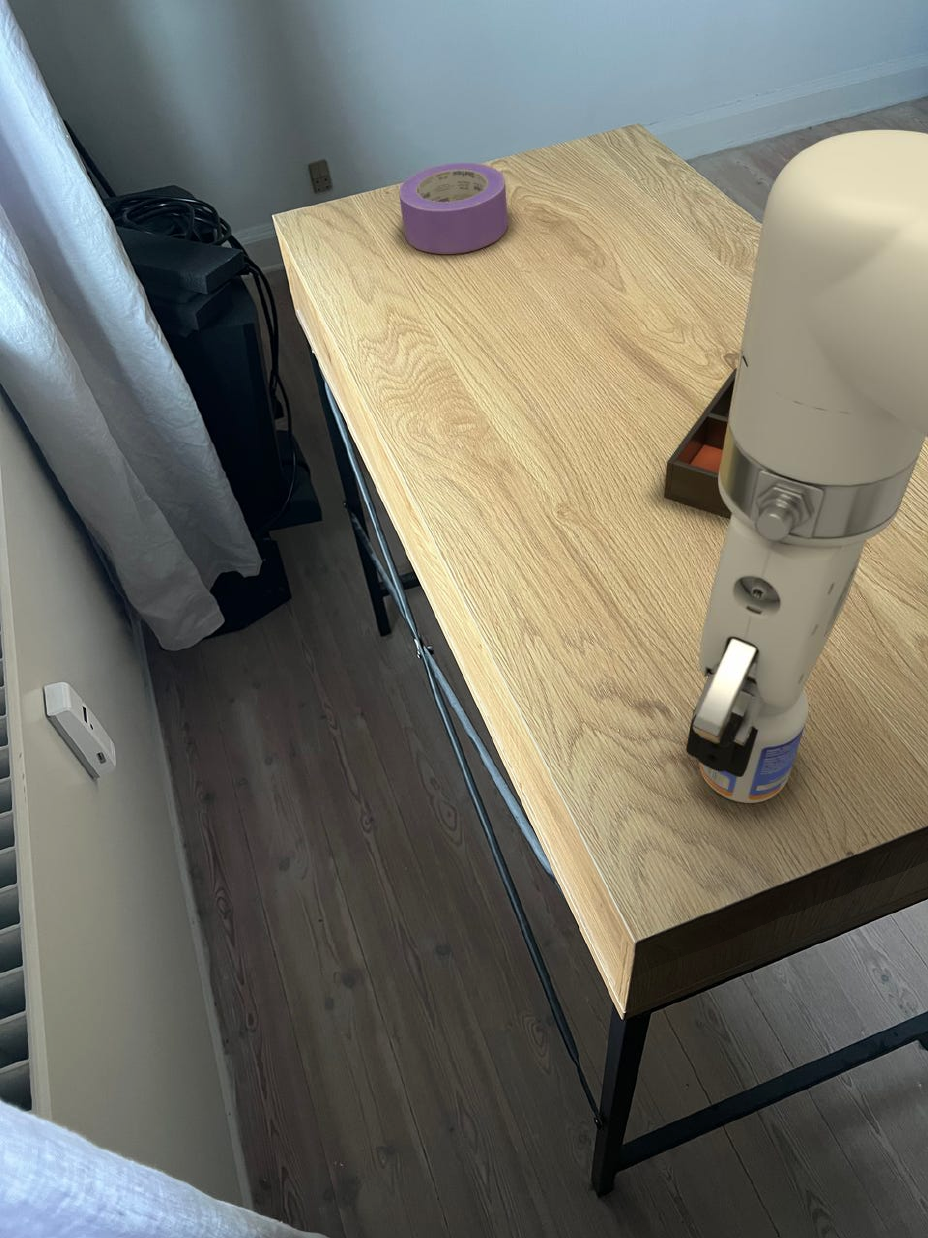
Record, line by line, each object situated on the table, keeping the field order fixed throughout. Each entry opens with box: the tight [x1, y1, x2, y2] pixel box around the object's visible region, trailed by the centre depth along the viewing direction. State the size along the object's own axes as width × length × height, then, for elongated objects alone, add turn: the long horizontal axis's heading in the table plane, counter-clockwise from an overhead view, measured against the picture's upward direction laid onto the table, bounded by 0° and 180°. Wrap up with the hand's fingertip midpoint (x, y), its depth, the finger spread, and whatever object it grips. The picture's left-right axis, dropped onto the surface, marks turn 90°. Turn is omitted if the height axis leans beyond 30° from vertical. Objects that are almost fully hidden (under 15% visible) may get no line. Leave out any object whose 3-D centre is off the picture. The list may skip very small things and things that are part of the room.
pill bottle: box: [698, 663, 809, 804], centre depth 53 cm, size 5×5×10 cm
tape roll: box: [398, 162, 509, 255], centre depth 103 cm, size 12×12×5 cm
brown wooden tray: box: [663, 367, 737, 520], centre depth 74 cm, size 7×14×4 cm, turn 147°
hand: (750, 696), depth 52 cm, fingers open, 9 cm apart
